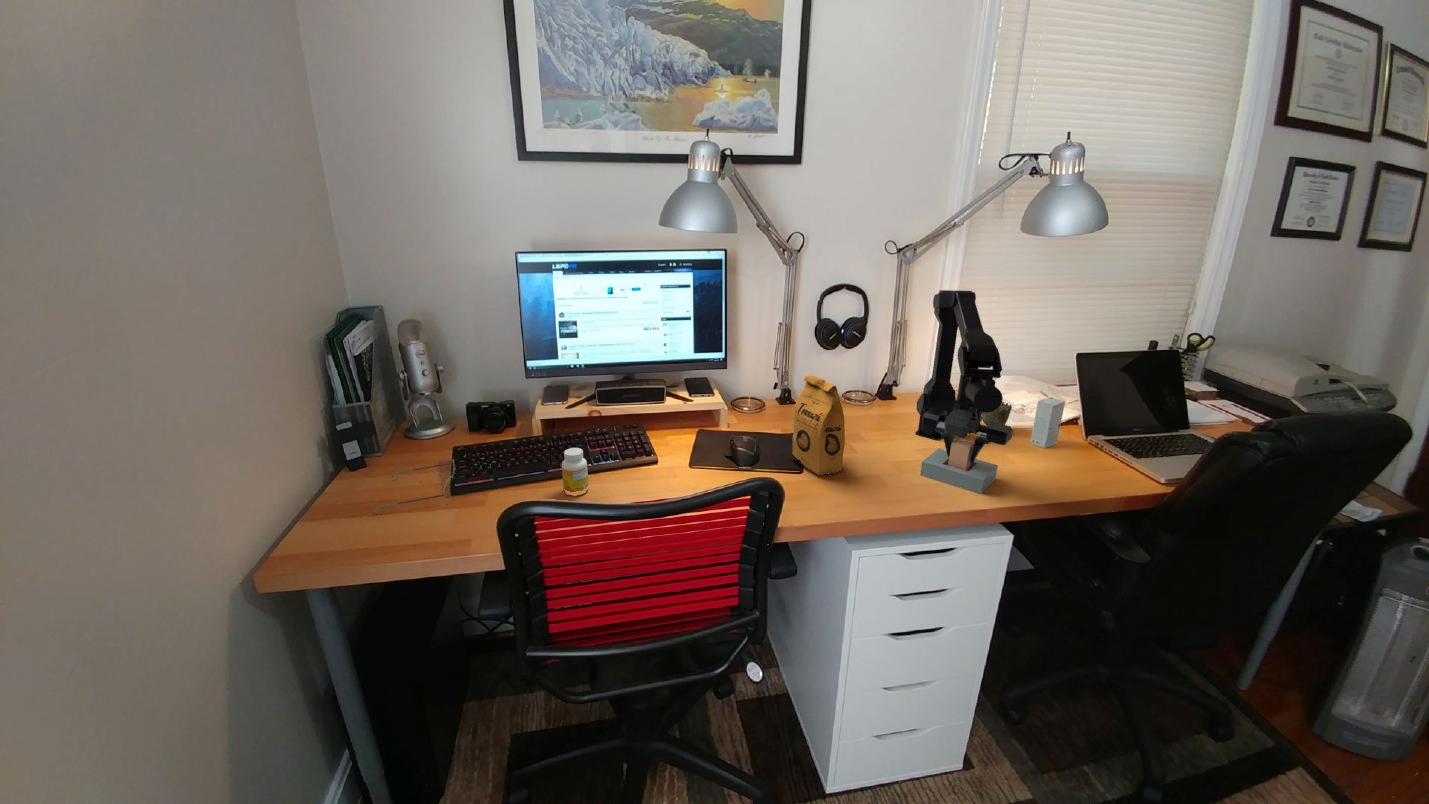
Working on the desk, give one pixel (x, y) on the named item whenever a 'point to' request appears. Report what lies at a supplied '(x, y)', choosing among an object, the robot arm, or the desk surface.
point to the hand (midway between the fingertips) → (960, 459)
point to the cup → (997, 415)
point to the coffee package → (819, 427)
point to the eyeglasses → (422, 498)
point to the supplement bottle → (574, 470)
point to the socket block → (959, 472)
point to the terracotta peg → (961, 454)
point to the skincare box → (1047, 422)
